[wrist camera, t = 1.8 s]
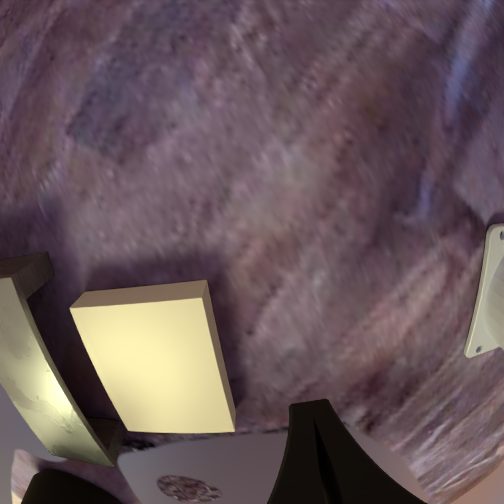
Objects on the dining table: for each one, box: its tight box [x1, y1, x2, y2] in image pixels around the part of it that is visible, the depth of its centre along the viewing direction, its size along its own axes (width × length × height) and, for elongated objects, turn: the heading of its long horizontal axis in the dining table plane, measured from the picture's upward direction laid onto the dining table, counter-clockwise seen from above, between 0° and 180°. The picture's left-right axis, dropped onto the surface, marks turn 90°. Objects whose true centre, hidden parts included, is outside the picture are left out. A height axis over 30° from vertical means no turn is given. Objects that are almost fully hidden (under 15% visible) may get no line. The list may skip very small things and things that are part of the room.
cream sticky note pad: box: [70, 280, 235, 433], centre depth 14 cm, size 6×8×2 cm
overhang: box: [0, 252, 126, 467], centre depth 13 cm, size 5×12×3 cm, turn 7°
